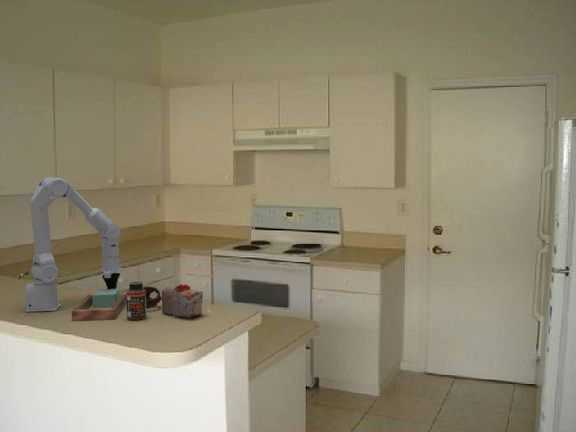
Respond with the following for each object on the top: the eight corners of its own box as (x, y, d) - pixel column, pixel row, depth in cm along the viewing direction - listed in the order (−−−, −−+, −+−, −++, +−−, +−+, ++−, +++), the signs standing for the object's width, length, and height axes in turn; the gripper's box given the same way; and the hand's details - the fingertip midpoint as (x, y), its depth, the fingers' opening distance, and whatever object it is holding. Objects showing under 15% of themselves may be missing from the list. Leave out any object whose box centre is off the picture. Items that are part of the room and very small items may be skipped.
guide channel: (72, 320, 179) (71, 311, 179) (88, 303, 200) (88, 295, 200) (115, 319, 180) (114, 309, 180) (126, 302, 202) (126, 294, 201)
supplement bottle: (129, 321, 178) (128, 285, 176) (125, 317, 183) (123, 281, 182) (148, 319, 180) (147, 283, 179) (144, 314, 186) (142, 280, 184)
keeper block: (93, 308, 195) (93, 295, 195) (99, 301, 204) (98, 289, 204) (115, 307, 196) (114, 294, 196) (119, 301, 205) (119, 288, 204)
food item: (207, 315, 185) (206, 284, 184) (189, 321, 178) (189, 289, 177) (175, 309, 192) (174, 280, 191) (158, 315, 186) (157, 284, 185)
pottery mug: (162, 304, 200) (165, 287, 196) (155, 323, 192) (158, 305, 188) (128, 296, 200) (130, 278, 195) (119, 315, 192) (121, 296, 187)
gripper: (118, 259, 201) (119, 298, 202) (125, 253, 215) (126, 289, 217) (97, 260, 200) (99, 298, 201) (106, 253, 214) (107, 289, 216)
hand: (112, 293), depth 209 cm, fingers closed
